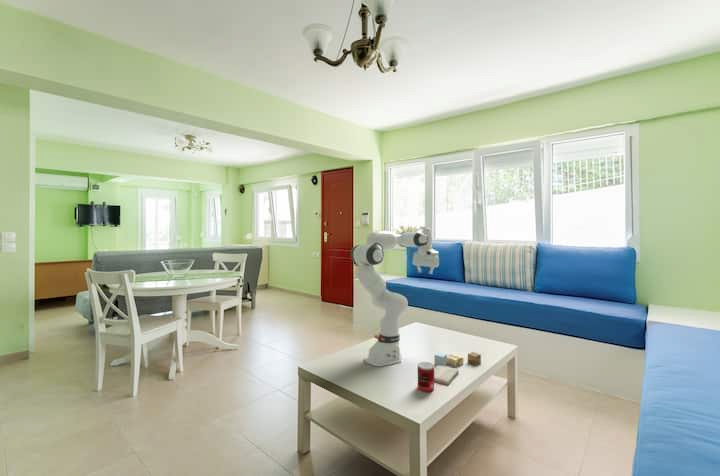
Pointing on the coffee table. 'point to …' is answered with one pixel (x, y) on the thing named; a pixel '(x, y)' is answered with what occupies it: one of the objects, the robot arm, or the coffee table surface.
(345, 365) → the coffee table surface
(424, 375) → the canned food
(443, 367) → the washcloth
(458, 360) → the oak base block
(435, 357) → the grey-blue block
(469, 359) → the walnut block
